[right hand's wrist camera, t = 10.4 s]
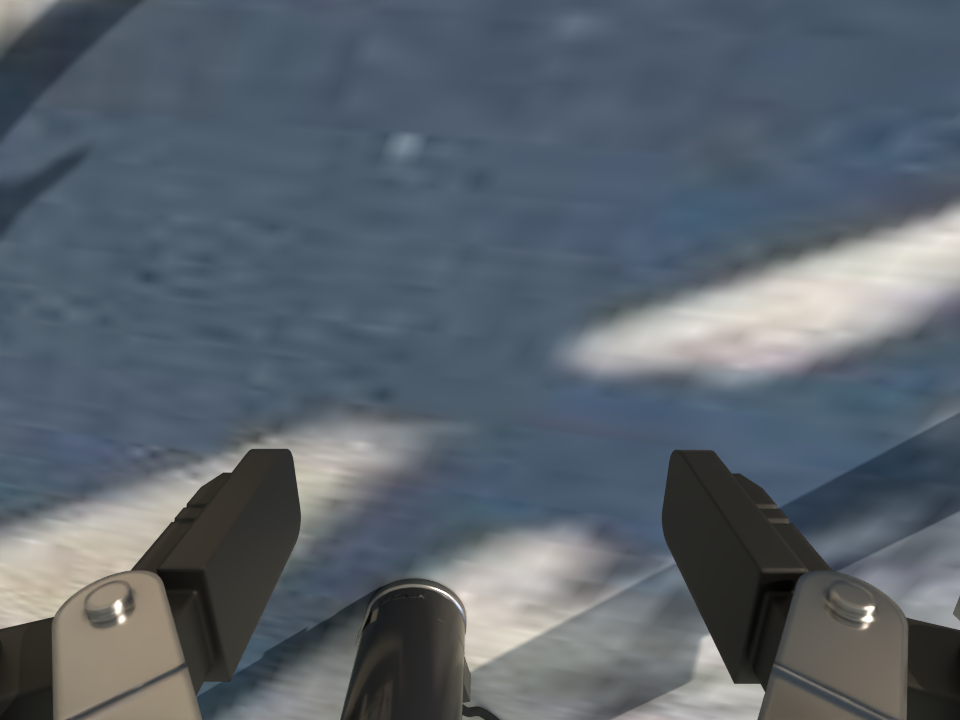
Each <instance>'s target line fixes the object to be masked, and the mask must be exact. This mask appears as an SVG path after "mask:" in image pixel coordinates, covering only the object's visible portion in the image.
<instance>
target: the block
mask: <svg viewBox="0 0 960 720" xmlns="http://www.w3.org/2000/svg"><path fill="white" fill-rule="evenodd" d="M953 615H954V616H956V617H957V618H958V619H959V620H960V597H959V599H958V602H957V605H956V607H955V610H954V612H953Z"/></svg>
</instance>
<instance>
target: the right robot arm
mask: <svg viewBox="0 0 960 720" xmlns="http://www.w3.org/2000/svg"><path fill="white" fill-rule="evenodd" d="M300 522H301V511H300V504H299V497H298V490H297V483H296V475H295V468H294V461H293V456H292V454H291V452H290V450H289V449H251V450H249V451H248V453H247V454H246V455H245V456H244V458H243V459H242V460H241V461H240V463H239V464H238V465H237V467H236V468H235V469H234V470H233V472H232V473H222V474H221V475H219V476H218V477H216V478H214V479H213V480H211V481H210V482H208V483H207V484H205V485H204V486H202V487H201V488H200V489H199V490H198V491H197V493H196V494H195V495H194V496H193V497H192V498H191V500H190V501H189V502H188V503H187V507H186V508H183V509H182V510H181V512H180V513H179V514H178V515H177V516H176V517H175V521H174V522H171V523H170V525H169V526H168V527H167V528H166V529H165V530H164V532H163V533H162V534H161V535H160V536H159V538H158V539H157V540H156V541H155V542H154V543H153V545H152V546H151V547H150V548H149V549H148V551H147V552H146V553H145V554H144V555H143V557H142V558H141V559H140V560H139V561H138V562H137V564H136V565H135V566H134V567H133V568H132V570H131V571H125V572H121V573H116V574H113V575H110V576H107V577H104V578H102V579H100V580H97V581H95V582H93V583H91V584H89V585H87V586H86V587H84V588H83V589H81V590H79V591H78V592H77V593H75V594H74V595H73V596H71V597H70V598H69V599H68V600H67V601H66V602H65V603H64V604H63V605H62V606H61V607H60V609H59V610H58V612H57V613H56V615H55V617H52V618H47V619H43V620H39V621H34V622H30V623H26V624H21V625H17V626H13V627H8V628H4V629H0V720H202V716H201V713H200V709H199V706H198V702H197V699H196V695H197V693H198V692H199V690H200V688H201V686H202V684H203V682H230V680H231V678H232V676H233V674H234V672H235V669H236V667H237V665H238V663H239V661H240V659H241V657H242V655H243V653H244V651H245V648H246V646H247V644H248V642H249V640H250V638H251V636H252V634H253V632H254V630H255V628H256V625H257V623H258V621H259V619H260V617H261V615H262V613H263V611H264V609H265V607H266V604H267V602H268V600H269V598H270V596H271V594H272V592H273V590H274V588H275V586H276V583H277V581H278V579H279V577H280V575H281V573H282V571H283V569H284V567H285V565H286V563H287V560H288V558H289V556H290V554H291V552H292V550H293V548H294V546H295V544H296V541H297V538H298V535H299V530H300ZM662 526H663V533H664V537H665V540H666V543H667V545H668V547H669V549H670V551H671V553H672V556H673V558H674V560H675V562H676V564H677V566H678V568H679V570H680V572H681V574H682V576H683V578H684V580H685V582H686V585H687V587H688V589H689V591H690V593H691V595H692V597H693V599H694V601H695V603H696V605H697V607H698V609H699V611H700V614H701V616H702V618H703V620H704V622H705V624H706V626H707V628H708V630H709V632H710V634H711V636H712V638H713V640H714V643H715V645H716V647H717V649H718V651H719V653H720V655H721V657H722V659H723V661H724V663H725V665H726V667H727V669H728V672H729V674H730V676H731V678H732V680H733V682H734V684H761V685H762V687H763V689H764V691H765V695H764V699H763V702H762V706H761V709H760V713H759V716H758V720H960V630H957V629H952V628H948V627H944V626H939V625H935V624H931V623H926V622H922V621H918V620H913V619H909V618H906V617H905V615H904V613H903V612H902V610H901V609H900V607H899V606H898V605H897V604H896V603H895V602H894V601H893V600H892V599H891V598H890V597H889V596H887V595H886V594H885V593H883V592H882V591H881V590H879V589H877V588H876V587H874V586H873V585H871V584H869V583H867V582H865V581H863V580H860V579H858V578H856V577H853V576H850V575H847V574H844V573H839V572H835V571H832V569H831V568H830V567H829V566H828V565H827V563H826V562H825V561H824V560H823V559H822V558H821V556H820V555H819V554H818V553H817V552H816V551H815V549H814V548H813V547H812V546H811V545H810V544H809V542H808V541H807V540H806V539H805V538H804V536H803V535H802V534H801V533H800V532H799V531H798V529H797V528H796V527H795V526H794V525H793V524H792V523H789V519H788V518H787V517H786V515H785V514H784V513H783V512H782V511H781V509H777V505H776V504H775V502H774V501H773V500H772V499H771V498H770V497H769V495H768V494H767V493H766V492H765V491H764V490H763V488H761V487H760V486H758V485H757V484H755V483H753V482H752V481H750V480H749V479H747V478H746V477H744V476H743V475H741V474H732V473H731V472H730V471H729V470H728V468H727V467H726V466H725V465H724V463H723V462H722V461H721V460H720V458H719V457H718V456H717V455H716V453H715V452H714V451H712V450H674V451H673V452H672V454H671V457H670V461H669V468H668V475H667V482H666V489H665V496H664V503H663V510H662ZM362 629H363V630H362ZM361 631H362V634H361ZM465 633H466V611H465V608H464V606H463V604H462V602H461V600H460V599H459V598H458V597H457V595H456V594H455V593H454V592H452V591H451V590H450V589H448V588H447V587H445V586H443V585H441V584H439V583H436V582H433V581H430V580H425V579H404V580H399V581H395V582H392V583H390V584H388V585H386V586H384V587H383V588H381V589H380V590H379V591H377V592H376V593H375V594H374V596H373V597H372V598H371V600H370V601H369V604H368V606H367V610H366V614H365V618H364V622H363V624H362V626H361V629H360V631H359V633H358V637H357V640H358V638H359V636H360V634H361V639H360V642H359V646H358V650H357V654H356V658H355V662H354V666H353V670H352V674H351V678H350V682H349V686H348V690H347V694H346V698H345V702H344V706H343V711H342V715H341V719H340V720H462V715H464V716H467V717H473V716H480V717H482V718H483V719H485V720H499V719H498V718H497V717H495V716H494V715H493V714H491V713H490V712H488V711H487V710H485V709H483V708H481V707H466V706H464V705H463V704H462V703H465V702H470V679H471V675H470V672H469V669H468V666H467V663H466V660H465V657H464V647H465ZM357 640H356V643H357ZM355 645H356V644H355Z"/></svg>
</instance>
